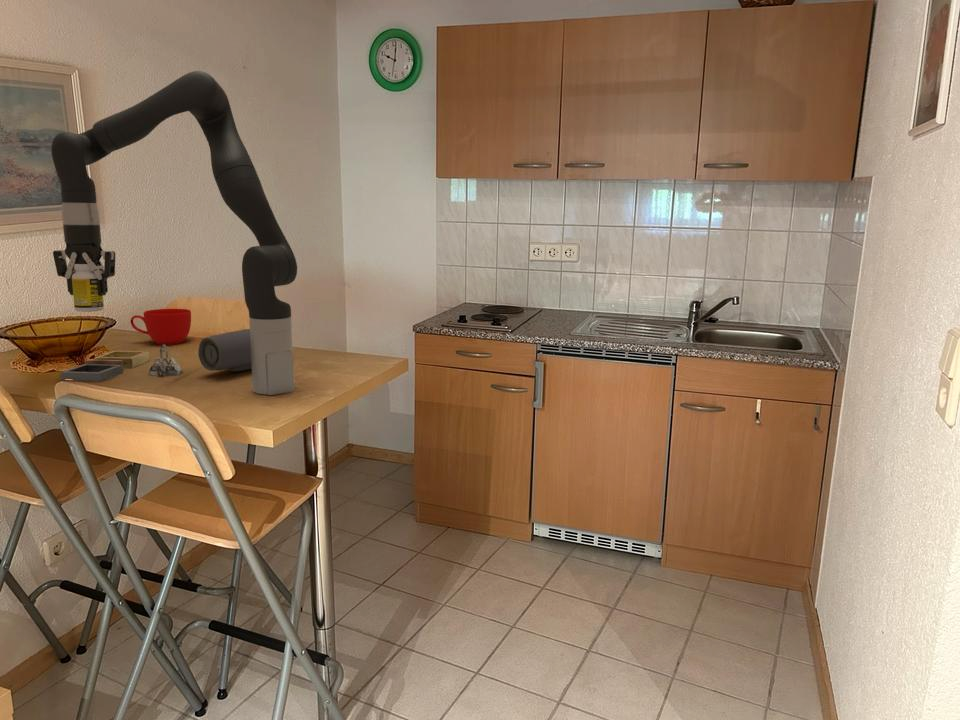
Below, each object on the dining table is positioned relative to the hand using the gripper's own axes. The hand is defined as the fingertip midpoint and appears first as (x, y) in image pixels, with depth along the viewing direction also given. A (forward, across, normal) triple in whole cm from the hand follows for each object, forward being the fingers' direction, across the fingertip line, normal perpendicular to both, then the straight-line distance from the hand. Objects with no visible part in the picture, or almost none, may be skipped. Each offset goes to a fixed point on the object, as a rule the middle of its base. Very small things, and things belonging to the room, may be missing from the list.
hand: (88, 294), depth 170 cm
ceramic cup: (+20, +4, -42) cm, 47 cm away
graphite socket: (+20, 0, +1) cm, 20 cm away
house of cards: (+20, -15, -2) cm, 25 cm away
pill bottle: (+4, 0, 0) cm, 4 cm away
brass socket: (+20, +1, -14) cm, 24 cm away
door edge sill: (+20, +1, -6) cm, 21 cm away
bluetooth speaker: (+20, -32, -13) cm, 40 cm away
